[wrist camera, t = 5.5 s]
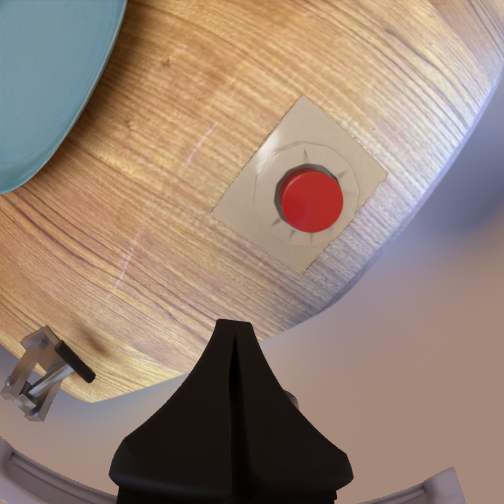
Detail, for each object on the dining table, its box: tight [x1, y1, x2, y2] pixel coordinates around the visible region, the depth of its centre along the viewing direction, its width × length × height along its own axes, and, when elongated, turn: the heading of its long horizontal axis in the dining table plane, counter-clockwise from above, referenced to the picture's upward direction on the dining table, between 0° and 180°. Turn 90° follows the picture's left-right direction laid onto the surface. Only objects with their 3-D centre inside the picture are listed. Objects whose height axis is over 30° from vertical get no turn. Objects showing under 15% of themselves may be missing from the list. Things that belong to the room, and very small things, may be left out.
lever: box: [12, 340, 96, 413], centre depth 20 cm, size 12×5×2 cm, turn 116°
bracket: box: [0, 326, 76, 422], centre depth 22 cm, size 8×7×10 cm
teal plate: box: [0, 0, 128, 195], centre depth 10 cm, size 24×24×3 cm
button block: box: [210, 95, 388, 275], centre depth 17 cm, size 10×8×2 cm
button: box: [279, 168, 343, 233], centre depth 16 cm, size 4×4×2 cm
